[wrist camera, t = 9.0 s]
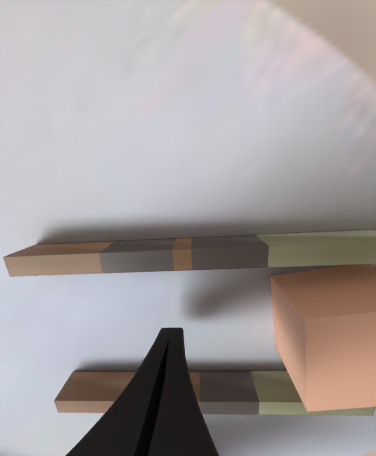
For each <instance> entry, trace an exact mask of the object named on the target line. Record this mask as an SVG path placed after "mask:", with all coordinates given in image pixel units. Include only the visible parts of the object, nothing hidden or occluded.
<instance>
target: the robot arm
mask: <svg viewBox="0 0 376 456" xmlns="http://www.w3.org/2000/svg"><path fill="white" fill-rule="evenodd" d="M66 456H219V455H218V453H217V450H216V448H215V446H214V443H213V441H212V438H211V436H210V434H209V431H208V428H207V426H206V423H205V421H204V418H203V415H202V413H201V410H200V407H199V404H198V401H197V398H196V395H195V392H194V389H193V386H192V382H191V379H190V375H189V371H188V367H187V363H186V358H185V347H184V335H183V329H182V328H162V329H161V330H160V332H159V334H158V336H157V338H156V340H155V342H154V344H153V345H152V347H151V349H150V351H149V352H148V354H147V356H146V357H145V359H144V361H143V362H142V364H141V365H140V367H139V368H138V370H137V371H136V373H135V375H134V376H133V378H132V379H131V380H130V382H129V383H128V385H127V386H126V387H125V389H124V390H123V391H122V393H121V394H120V395H119V397H118V398H117V399H116V400H115V402H114V403H113V404H112V405H111V406H110V408H109V409H108V410H107V411H106V413H105V414H104V415H103V416H102V417H101V418H100V420H99V421H98V422H97V423H96V424H95V425H94V426H93V427H92V428H91V429H90V431H89V432H88V433H87V434H86V435H85V436H84V437H83V438H82V439H81V440H80V441H79V443H78V444H77V445H76V446H75V447H74V448H73V449H72V450H71V451H70V452H69V453H68V454H67V455H66Z"/></svg>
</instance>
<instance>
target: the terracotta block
mask: <svg viewBox="0 0 376 456" xmlns="http://www.w3.org/2000/svg"><path fill="white" fill-rule="evenodd" d="M270 281H271V294H272V307H273V320H274V333H275V346H276V349H277V351H278V353H279V355H280V357H281V359H282V361H283V363H284V365H285V367H286V369H287V371H288V373H289V375H290V377H291V379H292V381H293V384H294V386H295V388H296V390H297V392H298V394H299V396H300V398H301V400H302V402H303V404H304V406H305V408H306V410H307V412H310V411H324V410H337V409H351V408H365V407H376V267H375V266H373V265H371V264H355V265H344V266H337V267H330V268H323V269H316V270H309V271H301V272H294V273H287V274H280V275H273V276H270Z"/></svg>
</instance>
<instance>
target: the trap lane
mask: <svg viewBox="0 0 376 456" xmlns="http://www.w3.org/2000/svg"><path fill="white" fill-rule="evenodd" d="M3 258H4V261H5V264H6V267H7V270H8V272H9V275H10V276H38V275H67V274H96V273H124V272H153V271H182V270H211V269H240V268H268V267H297V266H326V265H355V264H376V229H375V230H353V231H330V232H308V233H286V234H264V235H241V236H219V237H197V238H174V239H152V240H130V241H108V242H85V243H63V244H41V245H33V246H31V247H28V248H26V249H23V250H20V251H18V252H15V253H13V254H10V255H8V256H5V257H3ZM135 373H136V371H73V372H72V374H71V376H70V377H69V379H68V380H67V382H66V383H65V385H64V386H63V388H62V389H61V391H60V393H59V394H58V396H57V397H56V399H55V400H54V402H55V405H56V407H57V410H58V412H64V413H106V411H107V410H108V409H109V408H110V406H111V405H112V404H113V403H114V402H115V400H116V399H117V398H118V397H119V395H120V394H121V393H122V391H123V390H124V389H125V387H126V386H127V385H128V383H129V382H130V380H131V379H132V378H133V376H134V375H135ZM189 375H190V379H191V382H192V386H193V389H194V392H195V395H196V398H197V401H198V404H199V407H200V410H201V413H202V414H259V415H356V416H373V414H374V411H375V407H365V408H351V409H337V410H324V411H310V412H307V410H306V408H305V406H304V404H303V402H302V400H301V398H300V396H299V394H298V392H297V390H296V388H295V386H294V384H293V381H292V379H291V377H290V375H289V373H288V371H189Z"/></svg>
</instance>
